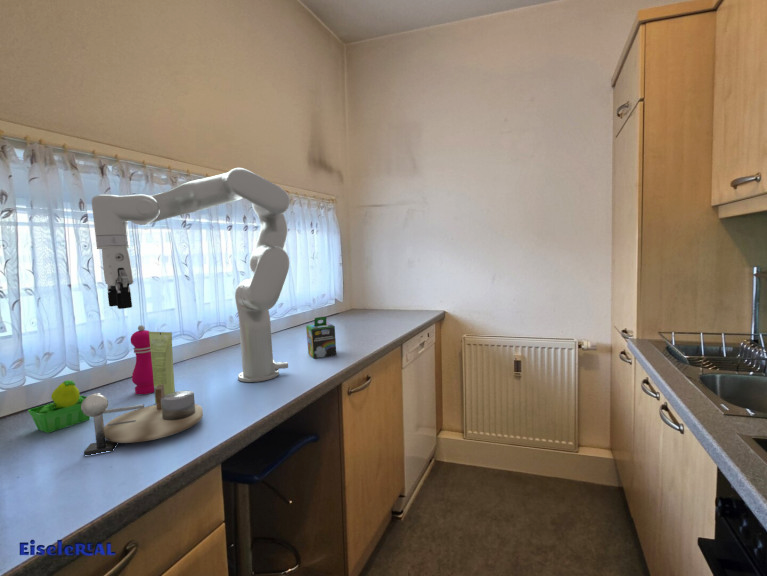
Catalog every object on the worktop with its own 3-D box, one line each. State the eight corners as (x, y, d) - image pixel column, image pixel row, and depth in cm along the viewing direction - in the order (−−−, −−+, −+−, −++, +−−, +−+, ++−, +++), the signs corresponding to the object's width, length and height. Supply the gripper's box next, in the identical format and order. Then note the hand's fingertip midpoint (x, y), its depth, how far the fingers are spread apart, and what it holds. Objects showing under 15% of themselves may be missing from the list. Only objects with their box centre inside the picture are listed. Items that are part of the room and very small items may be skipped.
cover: (196, 407, 103) (195, 388, 103) (193, 417, 97) (192, 397, 96) (165, 411, 101) (163, 393, 101) (159, 422, 94) (157, 402, 94)
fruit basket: (82, 413, 110) (77, 371, 109) (100, 419, 105) (95, 375, 104) (29, 430, 100) (23, 384, 99) (46, 437, 96) (40, 389, 95)
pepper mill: (148, 395, 122) (142, 327, 120) (127, 395, 123) (120, 327, 122) (166, 387, 129) (160, 322, 127) (146, 387, 130) (139, 323, 129)
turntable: (206, 402, 110) (204, 378, 109) (198, 432, 91) (196, 404, 90) (118, 414, 104) (115, 390, 103) (90, 450, 85) (87, 420, 84)
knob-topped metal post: (149, 438, 93) (144, 384, 91) (145, 446, 89) (140, 389, 88) (91, 448, 89) (84, 391, 88) (84, 456, 85) (77, 397, 84)
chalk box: (330, 350, 168) (328, 313, 166) (337, 355, 159) (335, 316, 158) (307, 354, 164) (304, 316, 163) (313, 359, 156) (310, 319, 154)
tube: (178, 397, 120) (171, 328, 118) (178, 402, 115) (171, 331, 113) (155, 400, 117) (148, 331, 116) (154, 406, 113) (147, 334, 111)
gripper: (138, 241, 108) (145, 307, 110) (121, 243, 121) (128, 303, 122) (103, 241, 103) (111, 311, 105) (90, 244, 115) (97, 306, 117)
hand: (120, 307), depth 113 cm, fingers open, 9 cm apart
